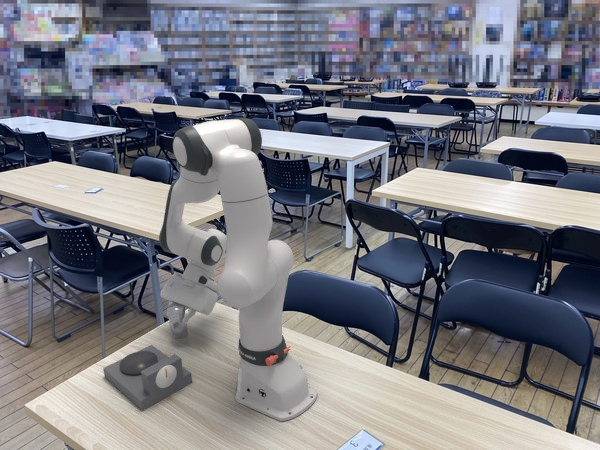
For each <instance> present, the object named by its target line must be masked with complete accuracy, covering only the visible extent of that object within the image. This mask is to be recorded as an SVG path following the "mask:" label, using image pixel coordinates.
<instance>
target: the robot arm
mask: <svg viewBox="0 0 600 450" xmlns="http://www.w3.org/2000/svg"><path fill="white" fill-rule="evenodd" d="M262 145H263V139H262V133H261V130H260V128H259V127H258V124H257V123H256V121H254V120H252V119H251V118H246V117H236V118H234V119H232V118H231V119H221V120H208V121H205V122H201V123H198V124H195V125H187V126H185V127H181V128H180V129H178V130H177V131H176V132H175V133H174V135H173V138H172V151H173V155H174V158H175V159H176V161H177V164H178V165H179V166H180V168H179V170H180V174H179V177H178V178H176V179H174V180H173V182H172V183H171V185H170V187H169V190H168V193H167V196H166V197H167V198H166V203H165V210H164V216H163V222H162V226H161V229H160V232H159V235H158V242H159V245H160V247H161V249H162V251H164V252H166V253H169V254H173V255H177V256H179V257H182V258H184V259H186V260H189V261H188V263H187V266H186V267H185V270H184V271H183V273H180V272H176V273H173V274H172V275H171V276H170V278H169V279H168V280H167V281H166V283H165V284H164V286H163V287H162V289H161V291H160V297H161V298H163V299H164V300H167V301H168V306H169V305H170V304H173V303H179V304H181V305H184V306H185V308H187V313H186V315H185V316H182V318H181V320H180V321H181V322H183V323H185V324H187V325H188V322H189V321H190V319H191V318H193V317H194V316H195V315H196V313H200V314H203V315H205V316H208V315H210V314H211V313H212V312H213V309H214V308H215V305H216V304H217V301H218V294H219V296H220V297H221V299H222V300H223V301H224V303H226V304H227V305H228V306H230V307H231V308H234V309H239V312H238V326H239V330H238V331H239V338H238V347H237V348H238V353H239V356H240V358H239V359H240V360H239V365H238V373H237V374H238V376H237V383H236V394H235V398H234V399H235V402H237V403H239V404H241V405H243V406H246V407H247V408H250V409H252V410H255V411H257V412H259V413H260V414H263V415H266V416H268V417H270V418H272V419H275V420H277V421H279V422H284V421H285V422H286V421H289V420H293V419H294V418H297V417H298V416H300V415H301V414H303V413H304V412H306V411H307V410H308V409H309V408H310V407H312V405H313V404H314V403H315V402H316V400H317V399H318V391H317V389H316V388H315V387H314V386H312V385H311V384H310V383H309V381H308V377H307V374H306V372H305V371H304V370H303V365H302V362H300V361H298V362H297V361H296V360H295V359H294V357H293V356H292V355H291V353H290V351H291V345H289V346H287V343H286V340H285V337H284V335H283V309H284V302H285V297H286V292H287V286H288V279H289V276H290V274H291V273H290V272H291V270H292V268H293V265H294V262H295V257H294V253H293V251H292V248H291V247H290V246H289V245H288V244H287V243H286V242H284V241H283V240H280V239H269V238H270V234H271V231H272V229H273V216H272V209H271V204H270V203H271V202H270V198H269V193H268V192H269V191H268V186H267V183H266V182H267V181H266V177H265V174H264V171H263V170H264V169H263V168H262V165H261V163H260V160H259V157H258V154H259V153H260V152H261V150H262ZM218 193H220V199H221V204H222V209H223V216H224V221H225V228H226V233H224V232H223V231H221V230H219V229H216V228H209V229H207V230H202V229H200V228H197V227H195V226H192V225H190V224H188V223H186V222H185V221H184V220H183V214H184V209H185V204H202V203H206V202H209V201H211V200H212V199H214V198H215V197H216V196H217V195H218ZM224 255H225V256H224ZM224 257H225V258H224ZM223 258H224V263H223V268H222V271H221V273H220V276H219V278H218V281H217V282H216V280H214V277H215V273H216V270H217V268H218V267H219V265H221V262H222V260H223ZM168 306H167V307H168ZM165 315H166V316H167V317H168V318H169V315H168V311H166V314H165Z"/></svg>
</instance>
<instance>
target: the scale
mask: <svg viewBox="0 0 600 450" xmlns="http://www.w3.org/2000/svg"><path fill="white" fill-rule="evenodd" d="M102 370H103V374H104V378H105V379H106V380H107V381H108V382H109V383H111V384H112V385H113V386H114V388H116V389H117V390H118V391H120V393H122V394H123V396H125V397H126V398H127V399H129V400H130V401H131V402H132V403H133V404H134V405H135V406H136V407H137V408H139V409H140V410H141V412H144V411H145V410H147V409H149V408H150V407H152V406H154V405H155V404H157V403H159V402H161V401H162V400H164V399H166V398H168V397H169V396H171V395H173V394H174V393H176V392H178V391H179V390H181V389H183V388H185V387H186V386H188V385H190V384H191V383H193V376H192V372H191V371H189V370H188V369H187V368H185V367H184V366H183V362H182V357H180V356H179V355H177V354H176V353H174V354H172V355H170V356H168V355H167V354H166V353H164V352H163V351H161V350H160V349H158V348H157V347H155V346H154V345H153V344H151V345H148V346H146V347H144V348H142V349H140V350H138V351H135V352H132V353H130V354H128V355H126V356H125V357H123V358H122V359H121V358H120V359H119V360H117V361H115V362H112V363H111V364H109V365H107V366H105V367H103V369H102Z"/></svg>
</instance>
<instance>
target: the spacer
mask: <svg viewBox="0 0 600 450" xmlns="http://www.w3.org/2000/svg"><path fill="white" fill-rule="evenodd" d="M166 309H167V312H168V315H169V317H168V321H169V329H170V334H171V339H172V340H175V341H180V340H181V341H182V340H184V339H186V338H187V337H188V336H189V331H188V330H189V329H188V323H187V324H185V323H183V322H181V321H180V320H181V318H182V316H185V315H186V314H187V313H186V307H185V306H184V305H181V304H179V303H173V304H170V305H169V306H167V308H166Z"/></svg>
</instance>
